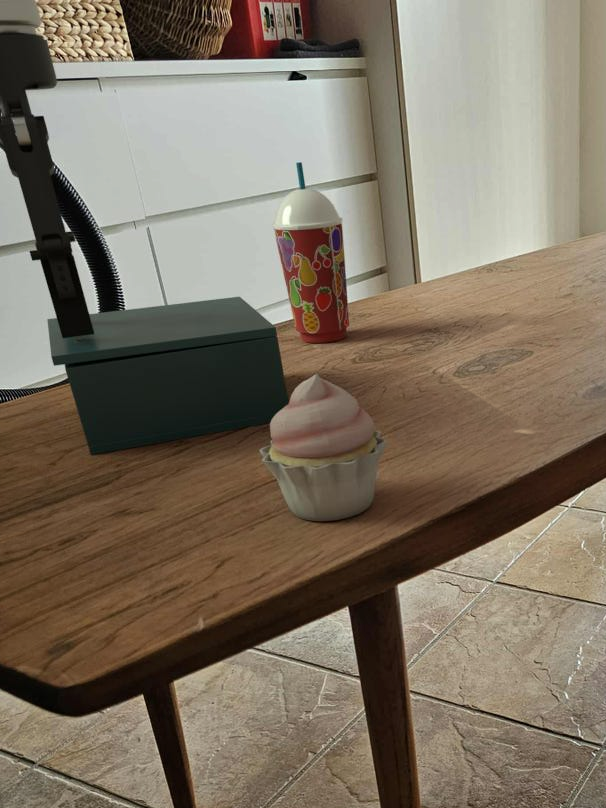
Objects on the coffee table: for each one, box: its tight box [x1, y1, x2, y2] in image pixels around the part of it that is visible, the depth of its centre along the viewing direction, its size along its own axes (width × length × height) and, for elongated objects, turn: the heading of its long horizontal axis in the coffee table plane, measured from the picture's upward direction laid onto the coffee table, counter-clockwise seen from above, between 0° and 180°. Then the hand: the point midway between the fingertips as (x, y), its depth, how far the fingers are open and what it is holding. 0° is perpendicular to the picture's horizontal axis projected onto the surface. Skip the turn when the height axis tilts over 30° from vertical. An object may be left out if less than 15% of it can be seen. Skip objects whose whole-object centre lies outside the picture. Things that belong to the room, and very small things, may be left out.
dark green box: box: [64, 335, 290, 456], centre depth 89 cm, size 19×18×8 cm
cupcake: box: [258, 373, 388, 522], centre depth 66 cm, size 9×9×10 cm
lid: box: [46, 296, 278, 367], centre depth 85 cm, size 19×18×7 cm
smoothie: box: [271, 161, 350, 344], centre depth 110 cm, size 8×8×20 cm
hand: (76, 325), depth 84 cm, fingers closed on lid, 8 cm apart
